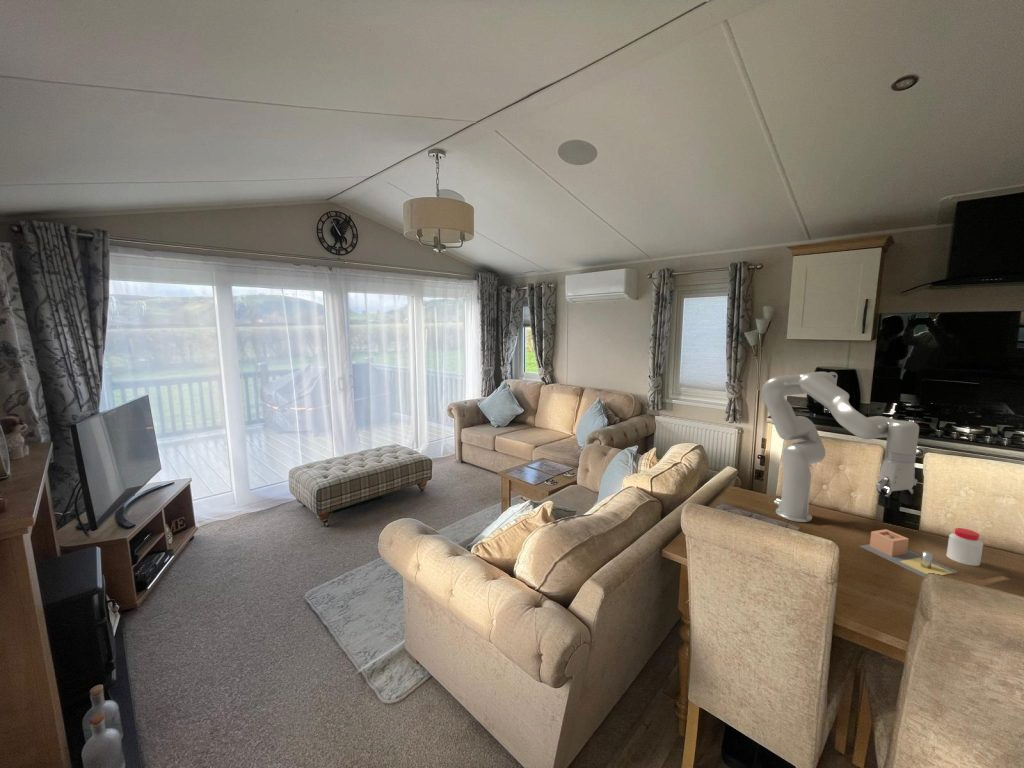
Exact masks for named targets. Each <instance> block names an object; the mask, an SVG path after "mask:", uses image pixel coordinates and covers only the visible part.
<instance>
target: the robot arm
mask: <svg viewBox="0 0 1024 768" xmlns="http://www.w3.org/2000/svg"><path fill="white" fill-rule="evenodd" d="M803 394H807V395H808V396H809V397H811V398H813V399H814V400H816V401H817V402H818V403H820V404H821V405H822V406H823V407H825V408H827V409H828V411H830V413H831V415H832V417H833V418H834V419H835V421H836V422H837V423H838V424H839V425H840V426H842V427H843V428H844V429H845V430H847V431H848V432H849V433H851V434H853V435H854V436H856V437H858V438H860V439H863V440H874V439H881V438H886V444H885V451H884V452H885V454H884V460H883V461H882V463H881V466H880V469H879V470H880V471H879V475H878V480H877V482H876V483H875V487H876V491H877V494H878V500H877V505H878V506H880V507H884V508H886V509H890V505H891V496H890V495H891V494H892V492H897V491H900V492H899V499H898V501H899V503H902V504H904V505H907V506H911V504H912V499H913V498H912V497H913V494H914V490H915V489H916V486H917V484H918V479H917V478H915V474H916V469H915V468H916V467H915V465H916V459H917V448H918V440H919V434H920V425H919V424H918V423H915V422H914V421H908V420H901V419H899V420H898V419H894V418H892V417H888V416H887V417H886V416H881V415H876V416H869V417H867V416H866V415H864V414H862V413H861V412H859V411H858V410H856V409H855V408H854V407H853V406H852V405H851V404H850V402H849V399H850V394H849V393H848V392H847V391H845V390H844V389H843V388H841V387H839V386H838V385H837V381H836V377H834V376H833V374H832V373H829V372H827V371H811V372H807V373H802V374H800V373H799V374H788V375H786V374H785V375H778V376H776V375H775V376H772V377H771V378H769V379H768V380H766V382H764V384H763V386H762V389H761V398H762V400H763V403H764V405H765V407H766V409H767V410H768V413H769V416H770V418H771V421H772V423H773V425H774V428H775V430H776V432H777V434H778V436H779V438H781V439H782V440H784V441H794V440H795V441H796V442H794V443H790V444H787V446H785V448H784V449H783V451H782V460H783V461H782V462H783V473H782V474H783V476H782V489H781V497H780V498H779V497H778V498H776V499H775V500H774V501H773V503H774V504H775V505H778V507H776V508H775V509H776V510H775V514H777V516H778V517H781V518H783V519H786V520H788V521H792V522H797V523H809V522H811V521H812V519H813V516H812V515H811V514H810V513H809V504H810V494H811V482H812V473H811V468H810V465H813V464H816V463H819V462H822V461H823V460H824V459H825V458H826V457H825V456H826V448H825V445H824V443H823V441H822V439H821V436H820V434H819V432H818V430H817V428H816V426H815V424H814V422H813V421H812V420H811V419H809V418H808V417H806V416H803V415H797V414H795V412H794V409H793V407H792V406H791V404H790V403H789V401H788V400H787V399H786V398H785V396H793V395H803ZM886 490H887V491H886Z"/></svg>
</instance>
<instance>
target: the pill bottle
mask: <svg viewBox="0 0 1024 768" xmlns="http://www.w3.org/2000/svg"><path fill="white" fill-rule="evenodd" d="M983 548H984V542H983V541H982V540H981V539H980V534H979V533H978V532H976V531H974V530H972V529H967V528H962V527H956V528H955V529H954V532H953V533H950V534H949V535H948V541H947V548H946V557H947V558H948V559H951V560H952V561H955V562H957V563H958V564H959V563H960V564H962V565H963V564H964V565H967V566H975V567H977V566H980V565H981V561H982V556H983V554H982V553H983V550H984V549H983Z"/></svg>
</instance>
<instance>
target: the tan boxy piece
mask: <svg viewBox="0 0 1024 768" xmlns="http://www.w3.org/2000/svg"><path fill="white" fill-rule="evenodd" d="M885 535H891V536H893V537H894V539H891V538H889V537H886V536H885ZM909 540H910V538H908V537H905V536H904V535H901V534H899V533H896V532H893V531H891V530H889V529H880V530H873V531H871V532H870V539H869V544H870V546H871V547H873V548H875V549H877V550H879V551H881V552H883V553H885V554H887V555H890V556H897V555H903V554H907V549H908V547H909ZM908 550H909V549H908Z"/></svg>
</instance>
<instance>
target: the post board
mask: <svg viewBox="0 0 1024 768" xmlns="http://www.w3.org/2000/svg"><path fill="white" fill-rule="evenodd" d="M885 536H886V537H889V538H891V539H894V537H893V536H891V535H885ZM859 547H860V548H862V549H865V550H867V551H869V552H870V553H873V554H875V555H876V556H879V557H881V558H883V559H885V560H887V561H890V562H892V563H894V564H895V565H897V566H900V567H902V568H904V569H905V570H908V571H910V572H913V573H914V574H915V575H918V576H921V578H924V577H925V576H926V574H928V573H935V574H940V575H942V576H945V575H952V574H956V573H958V571H957V570H955V569H952V568H950V567H948V566H946V565H943V564H942V563H939V562H938V561H934V560H933V558H934V557H933V556H934V554H933V553H932V552H931V551H926V550H923V551H922V553H921V554H920V553H917V552H914V551H912V550H909V549H907V554H903V555H897V556H890V555H887V554H885V553H883V552H881V551H879V550H877V549H875V548H873V547H871V546H870V543H868V544H863V545H859Z"/></svg>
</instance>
